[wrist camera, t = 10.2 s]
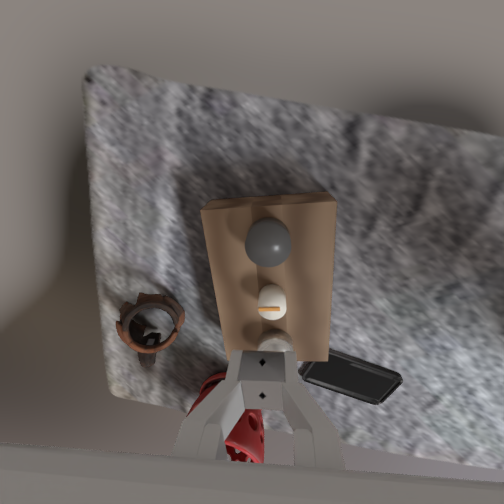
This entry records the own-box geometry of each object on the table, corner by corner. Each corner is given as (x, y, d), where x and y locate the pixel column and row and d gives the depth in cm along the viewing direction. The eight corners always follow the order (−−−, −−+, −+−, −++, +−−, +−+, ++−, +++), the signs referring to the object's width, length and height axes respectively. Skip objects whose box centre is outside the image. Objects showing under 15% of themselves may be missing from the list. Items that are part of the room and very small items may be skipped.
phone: (378, 406, 42) (299, 379, 41) (376, 400, 43) (299, 374, 42) (406, 378, 39) (321, 348, 38) (403, 372, 40) (320, 343, 39)
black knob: (287, 205, 29) (290, 223, 23) (288, 240, 31) (291, 266, 25) (249, 207, 29) (242, 226, 23) (252, 242, 31) (247, 268, 25)
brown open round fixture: (116, 284, 37) (107, 303, 30) (180, 277, 41) (186, 292, 33) (124, 355, 40) (118, 389, 32) (184, 342, 43) (190, 370, 35)
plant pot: (250, 356, 41) (241, 435, 30) (276, 405, 46) (276, 487, 35) (183, 371, 44) (153, 447, 33) (214, 415, 49) (197, 494, 38)
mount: (327, 191, 28) (337, 201, 24) (321, 334, 37) (328, 361, 33) (211, 199, 30) (200, 210, 25) (232, 335, 39) (227, 360, 35)
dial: (285, 283, 28) (286, 297, 26) (286, 306, 30) (287, 320, 27) (258, 284, 29) (256, 298, 26) (260, 306, 30) (258, 321, 28)
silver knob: (290, 307, 35) (293, 343, 29) (291, 331, 37) (294, 370, 31) (258, 307, 36) (255, 343, 29) (261, 331, 38) (258, 369, 31)
